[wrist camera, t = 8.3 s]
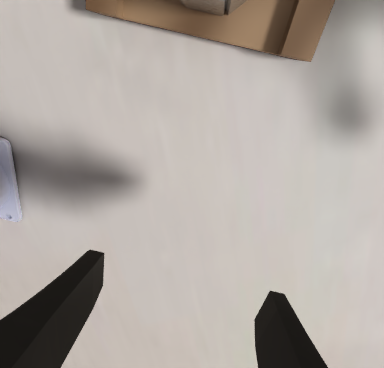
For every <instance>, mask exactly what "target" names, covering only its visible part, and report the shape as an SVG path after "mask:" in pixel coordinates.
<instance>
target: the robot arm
mask: <svg viewBox="0 0 384 368" xmlns="http://www.w3.org/2000/svg"><path fill="white" fill-rule="evenodd" d="M0 218H1V219H5V220H10V221H14V222H19V221H20V220H21V219H22V212H21V205H20V199H19V193H18V187H17V181H16V175H15V168H14V162H13V156H12V150H11V145H10V143H9V141H8V140H6V139H4V138H1V137H0ZM103 271H104V253H102V252H98V251H94V250H89V251H87V252H86V253H85V254H84V255H83V256H82V257H81V258H79V259H78V260H77V261H76V262H75V263H74V264H73V265H71V266H70V267H69V268H68V269H67V270H66V271H64V272H63V273H62V274H61V275H60V276H58V277H57V278H56V279H55V280H54V281H52V282H51V283H50V284H49V285H47V286H46V287H45V288H44V289H42V290H41V291H40V292H38V293H37V294H36V295H34V296H33V297H32V298H30V299H29V300H28V301H26V302H25V303H24V304H22V305H21V306H20V307H18V308H17V309H16V310H14V311H13V312H11V313H10V314H8V315H7V316H6V317H4V318H3V319H1V320H0V368H61V366H62V364H63V362H64V360H65V359H66V357H67V355H68V353H69V351H70V350H71V348H72V346H73V344H74V342H75V341H76V339H77V337H78V335H79V333H80V332H81V330H82V328H83V326H84V324H85V322H86V321H87V319H88V317H89V315H90V313H91V311H92V310H93V307H94V305H95V303H96V300H97V298H98V296H99V293H100V291H101V289H102V286H103ZM255 347H256V355H257V363H258V368H328V367H327V365H326V364H325V362H324V360H323V359H322V357H321V356H320V354H319V352H318V351H317V349H316V348H315V346H314V344H313V343H312V341H311V339H310V338H309V336H308V334H307V333H306V331H305V329H304V328H303V326H302V324H301V322H300V321H299V319H298V317H297V315H296V314H295V312H294V310H293V308H292V307H291V305H290V303H289V301H288V300H287V298H286V296H285V295H284V294H282V293H278V292H273V291H270V292H269V294H268V296H267V297H266V299H265V301H264V303H263V305H262V307H261V309H260V310H259V312H258V314H257V316H256V318H255Z"/></svg>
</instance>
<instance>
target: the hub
mask: <svg viewBox="0 0 384 368" xmlns="http://www.w3.org/2000/svg"><path fill="white" fill-rule="evenodd" d="M179 1H180V2H181V3H182V4H184V5H185V6H186V7H187V8H189V9H194V10H198V11H202V12H207V13H211V14H215V15H220V16H224V12H225V10H226V12H227V14H228V15H229V14H231V13H232V12H233V11H234V10H236V9H237V8H238V7H240V6H241V5H242V4H244V3H245V2H246V1H247V0H179Z"/></svg>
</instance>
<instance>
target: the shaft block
mask: <svg viewBox="0 0 384 368" xmlns="http://www.w3.org/2000/svg"><path fill="white" fill-rule="evenodd" d="M334 2H335V0H247V1H246V2H245V3H244V4H242V5H241V6H240V7H238V8H237V9H236V10H234V11H233V12H232V13H231V14H229V15H228V14H227V12H226V10H225V12H224V16H220V15H215V14H211V13H207V12H202V11H198V10H194V9H189V8H187V7H186V6H185V5H184V4H182V3H181V2H180V1H179V0H86V10H90V11H93V12H96V13H99V14H103V15H107V16H111V17H115V18H119V19H124V20H128V21H132V22H137V23H141V24H145V25H149V26H154V27H158V28H162V29H167V30H171V31H175V32H180V33H184V34H188V35H192V36H197V37H201V38H205V39H210V40H214V41H218V42H223V43H227V44H231V45H235V46H240V47H244V48H248V49H253V50H257V51H261V52H266V53H270V54H274V55H278V56H283V57H287V58H291V59H296V60H301V61H309V62H311V60H312V58H313V55H314V53H315V50H316V47H317V45H318V42H319V40H320V37H321V35H322V32H323V30H324V27H325V24H326V22H327V19H328V17H329V14H330V12H331V9H332V7H333V4H334Z"/></svg>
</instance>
